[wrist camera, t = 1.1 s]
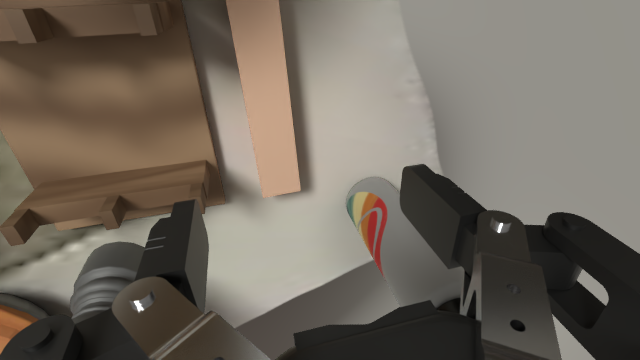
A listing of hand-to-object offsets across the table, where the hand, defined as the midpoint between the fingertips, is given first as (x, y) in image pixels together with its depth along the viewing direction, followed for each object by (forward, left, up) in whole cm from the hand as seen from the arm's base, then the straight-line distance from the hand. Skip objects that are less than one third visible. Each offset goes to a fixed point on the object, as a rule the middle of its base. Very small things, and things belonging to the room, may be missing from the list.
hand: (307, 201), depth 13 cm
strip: (0, 0, -18) cm, 18 cm away
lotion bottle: (+13, +10, -18) cm, 24 cm away
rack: (0, -12, -18) cm, 21 cm away
